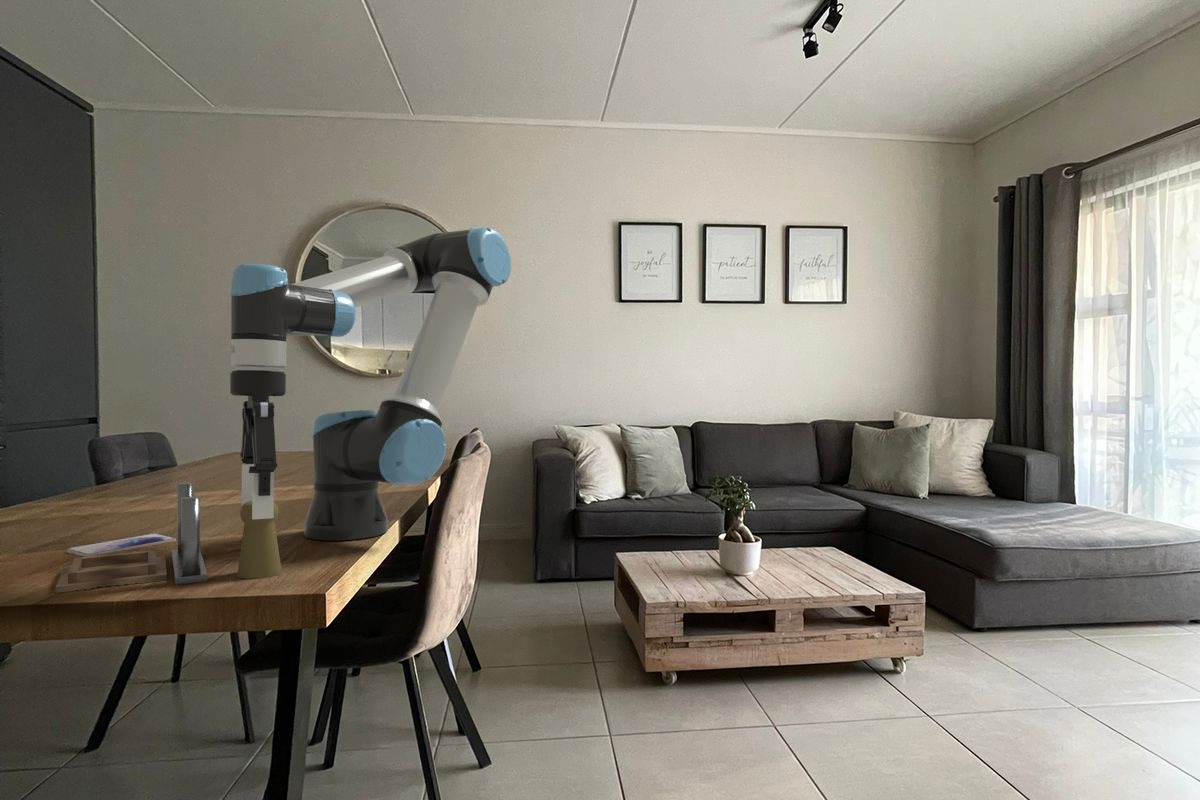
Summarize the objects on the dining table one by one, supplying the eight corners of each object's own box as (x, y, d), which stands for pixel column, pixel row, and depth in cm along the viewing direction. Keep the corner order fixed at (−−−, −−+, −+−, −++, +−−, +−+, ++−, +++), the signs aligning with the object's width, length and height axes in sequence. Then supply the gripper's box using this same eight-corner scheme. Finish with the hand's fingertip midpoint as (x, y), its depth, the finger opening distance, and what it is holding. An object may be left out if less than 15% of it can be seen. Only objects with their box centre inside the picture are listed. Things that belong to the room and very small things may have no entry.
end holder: (165, 561, 118) (164, 547, 118) (166, 580, 106) (166, 565, 106) (64, 571, 111) (64, 557, 111) (55, 593, 100) (55, 576, 100)
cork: (228, 575, 109) (227, 501, 109) (263, 566, 115) (263, 496, 114) (255, 580, 107) (255, 505, 106) (290, 571, 112) (290, 499, 112)
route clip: (199, 553, 123) (198, 481, 123) (207, 581, 106) (207, 498, 106) (171, 556, 121) (171, 483, 121) (175, 584, 104) (174, 500, 104)
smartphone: (177, 538, 133) (86, 554, 120) (177, 543, 133) (86, 560, 120) (155, 532, 137) (64, 548, 124) (155, 537, 137) (64, 553, 124)
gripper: (223, 370, 119) (221, 502, 119) (239, 366, 97) (237, 527, 97) (273, 371, 123) (272, 499, 123) (300, 368, 101) (298, 522, 101)
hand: (256, 511), depth 110 cm, fingers open, 13 cm apart
